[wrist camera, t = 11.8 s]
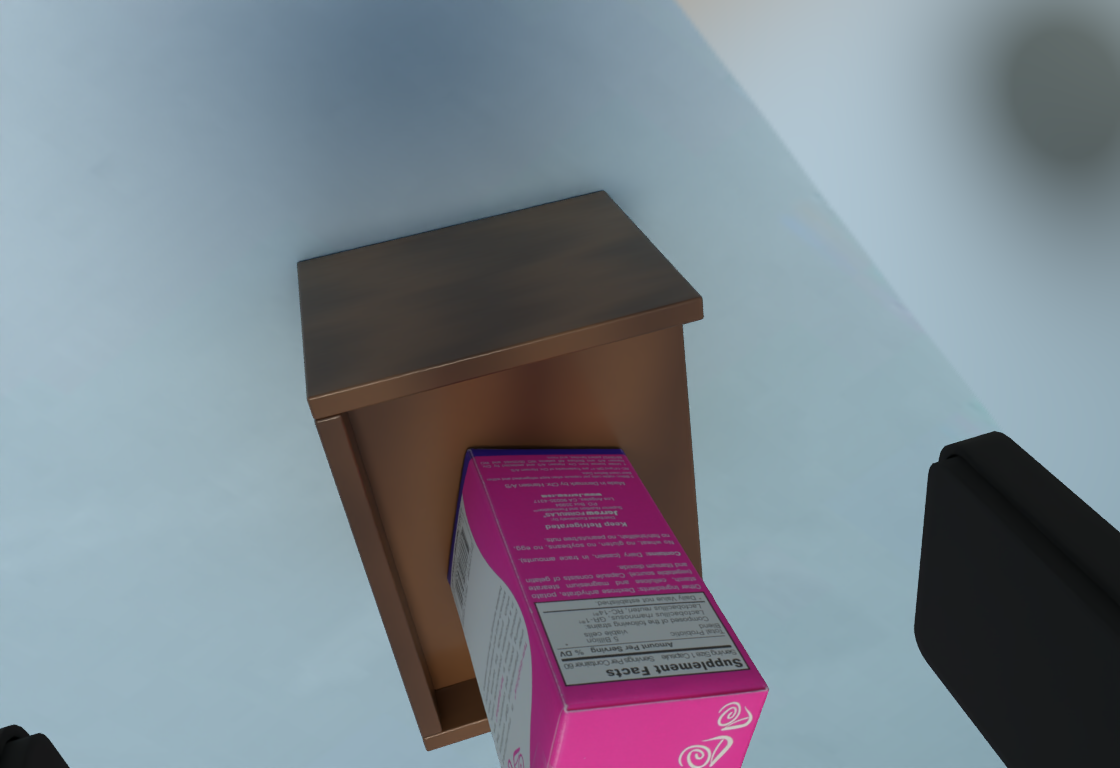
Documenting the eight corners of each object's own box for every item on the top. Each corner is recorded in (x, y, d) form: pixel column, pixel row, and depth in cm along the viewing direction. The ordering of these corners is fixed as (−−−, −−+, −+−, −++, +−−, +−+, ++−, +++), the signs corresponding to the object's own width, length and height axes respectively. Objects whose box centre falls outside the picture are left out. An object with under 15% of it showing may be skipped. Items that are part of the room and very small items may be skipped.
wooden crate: (604, 189, 37) (703, 296, 29) (641, 504, 45) (726, 657, 37) (296, 262, 35) (306, 398, 27) (396, 575, 44) (426, 752, 35)
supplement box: (598, 572, 36) (719, 844, 26) (443, 578, 34) (513, 873, 24) (630, 443, 33) (778, 694, 24) (464, 442, 31) (551, 714, 22)
